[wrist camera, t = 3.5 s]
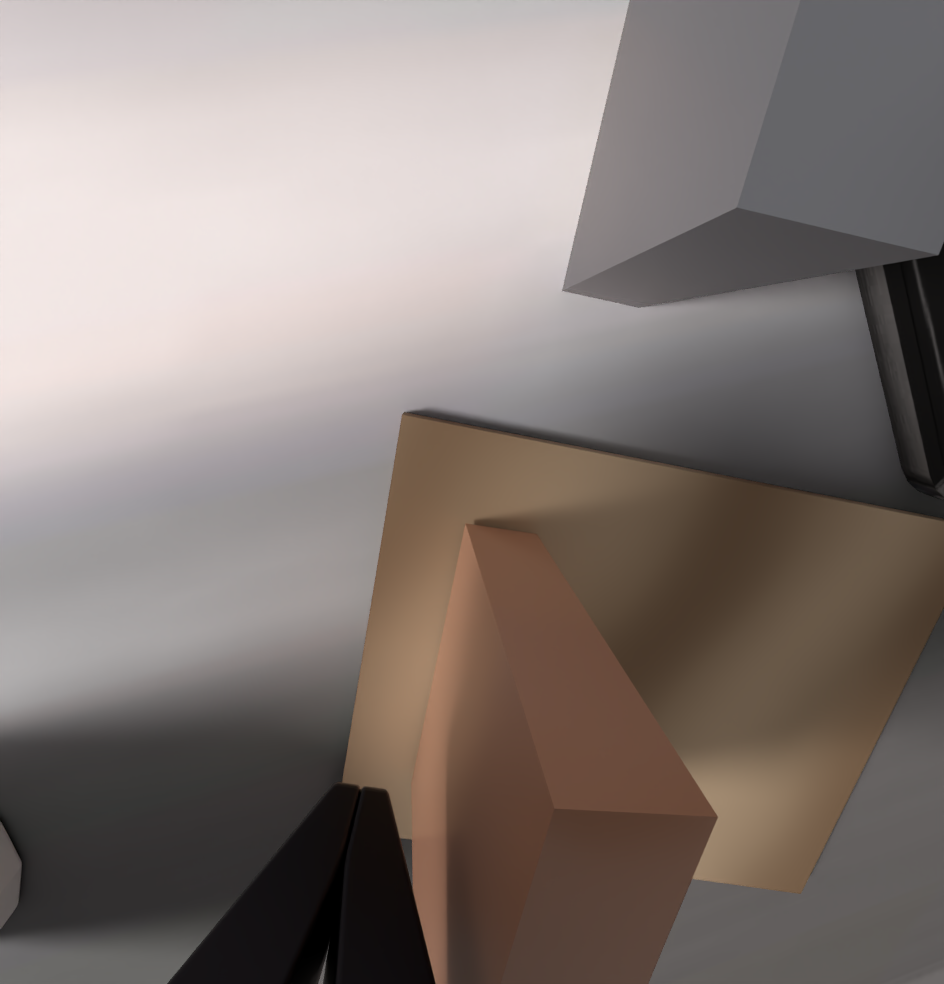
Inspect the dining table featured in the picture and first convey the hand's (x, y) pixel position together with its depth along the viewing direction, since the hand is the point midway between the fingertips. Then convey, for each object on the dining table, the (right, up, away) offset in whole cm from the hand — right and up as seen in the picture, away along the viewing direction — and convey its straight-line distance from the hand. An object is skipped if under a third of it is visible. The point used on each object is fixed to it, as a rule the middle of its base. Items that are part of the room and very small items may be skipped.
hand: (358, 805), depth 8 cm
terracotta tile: (+2, +1, +4) cm, 5 cm away
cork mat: (+6, 0, +5) cm, 7 cm away
